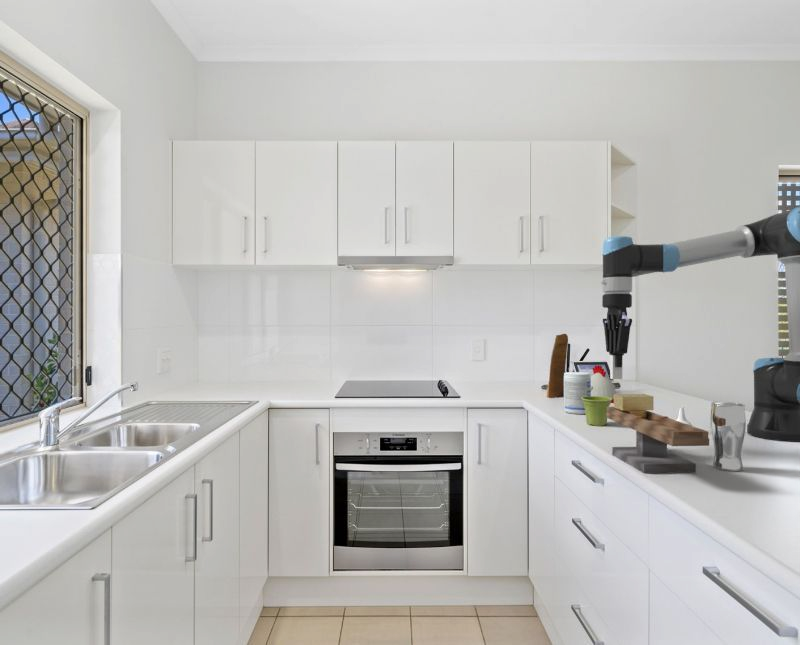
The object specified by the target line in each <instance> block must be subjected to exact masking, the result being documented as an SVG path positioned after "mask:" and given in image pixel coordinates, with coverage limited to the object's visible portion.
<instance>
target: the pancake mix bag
mask: <svg viewBox="0 0 800 645" xmlns="http://www.w3.org/2000/svg"><path fill="white" fill-rule="evenodd" d="M554 339H555V340H554V345H553V348H552V352H551V357H550V365H549V366H550V367H549V376H548V377H549V379H548V384H547V389H546V397H547V398H549V399H555V397H557V398H560V397H564V373H566V365H567V364H566V363H567V354H568V353H567V351H568V344H569V336H568V334H566V333H562V334H557V335H555V338H554Z"/></svg>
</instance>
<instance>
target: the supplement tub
mask: <svg viewBox="0 0 800 645" xmlns="http://www.w3.org/2000/svg"><path fill="white" fill-rule="evenodd" d="M585 396H591V373H590V372H585V371H584V372H583V371H582V372H580V371H568V372H567V371H565V373H564V395H563V410H564V412H565V413H568V414H572V415H586V414H585V407H584V403H583V400H582V397H585Z"/></svg>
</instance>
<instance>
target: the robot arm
mask: <svg viewBox="0 0 800 645" xmlns="http://www.w3.org/2000/svg"><path fill="white" fill-rule="evenodd" d="M760 256H777V257H776V258H777V261H779V263H782V264H783V265H784V276H785V291H786V292H785V293H786V294H785V295H786V310H787V325H788V326H787V327H788V344H789V353H787V355H785V356H784V357H765V358H764V357H763V358H758V359H756V360H755V361H754V365H753V370H752V372H753V410H752V412H751V414H750V418H749V421H748V423H747V425H746V433H747V434H748V435H750V436H754V437H756V438H762V439H767V440H774V441H785V442H800V206H797V207H795V208H792V209H789V210H786V211H784V212H780V213H776V214H774V215H770V216H767V217H765V218H763V219H760V220H757V221H754V222H751V223H747V224H744V225H740V226H739V225H738V227H737V228H736V229H735V230H730V231H725V232H721V233H716V234H712V235H706V236H701V237H696V238H692V239H687V240H682V241H677V242H676V241H675V242H671V243H666V244H665V243H663V244H634V242H633V238H632V237H631V236H626V235H624V236H622V235H621V236H619V235H616V236H610V237H607V238H605V239H604V241H603V246H602V281H601V285H602V292H603V295H601V296H602V297H601V298H602V301H601V302H602V307H603V308H605V309H607V312H606V318H602V323H603V324H602V325H603V328H604V338H605V349H606V350H605V351H606V352H607V353H608V354H609V355H610V356H609V357H610V358H609V359H610V364H609V366H610V370H609V373H610V374H609V376H610V377H609V379H610V380H623V356H624V355H625V354H627V353H628V349H629V348H628V347H629V340H630V333H631V326H632V324H633V319H632V318H629V317H628V312H627V311H628V310H627V308H632V306H633V303H632V302H633V295H632V293H631V292H632V291H633V278H636V277H638V276H642V275H648V274H649V275H650V274H653V273H654V274H655V273H670V272H675V270H677V269H678V268H683V267H688V266H693V265H698V264H703V263H709V262H713V261H714V262H715V261H719V260H723V259H728V258H729V259H730V258H735V257H741V258H744V259H746V258H753V257H760Z"/></svg>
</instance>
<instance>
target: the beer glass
mask: <svg viewBox="0 0 800 645" xmlns="http://www.w3.org/2000/svg"><path fill="white" fill-rule="evenodd" d="M709 420H710V431H711V435H712V436H711V437H712V442H713V446H714V457H713V462H712V467H713V468H714V469H717V470H721V471H726V472H737V473H738V472H742V471H744V464H743V458H742V450H743V445H744V444H743V443H744V439H745V434H746V428H747V425H746V424H747V422H746V420H747V418H746V411H745V404H744V403H739V402H732V401H713V402H711V407H710V419H709Z"/></svg>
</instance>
